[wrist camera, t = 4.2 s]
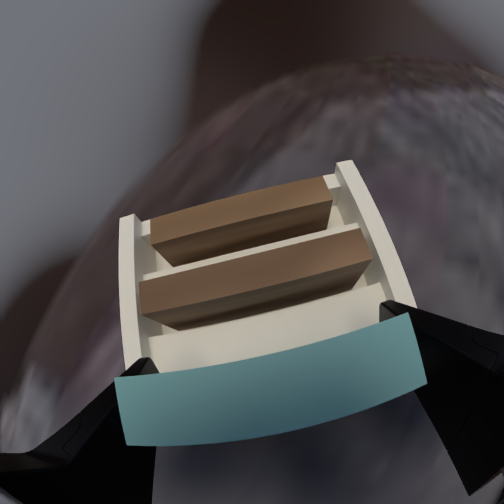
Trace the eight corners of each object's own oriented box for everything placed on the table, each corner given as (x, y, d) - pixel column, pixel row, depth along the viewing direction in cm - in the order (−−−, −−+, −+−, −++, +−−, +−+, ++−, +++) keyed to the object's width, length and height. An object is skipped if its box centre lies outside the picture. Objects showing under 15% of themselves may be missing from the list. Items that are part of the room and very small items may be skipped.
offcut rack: (404, 378, 13) (436, 377, 10) (171, 432, 14) (139, 444, 10) (342, 198, 19) (351, 159, 15) (147, 247, 19) (119, 218, 15)
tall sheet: (338, 377, 13) (427, 383, 4) (227, 403, 13) (127, 445, 4) (332, 351, 14) (408, 312, 5) (221, 377, 14) (114, 377, 5)
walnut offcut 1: (324, 237, 16) (333, 199, 13) (179, 273, 17) (150, 244, 13) (317, 216, 17) (322, 175, 14) (176, 251, 17) (150, 219, 14)
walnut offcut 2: (351, 289, 15) (372, 258, 11) (178, 331, 15) (140, 314, 11) (343, 265, 16) (360, 227, 12) (175, 306, 16) (138, 281, 12)
